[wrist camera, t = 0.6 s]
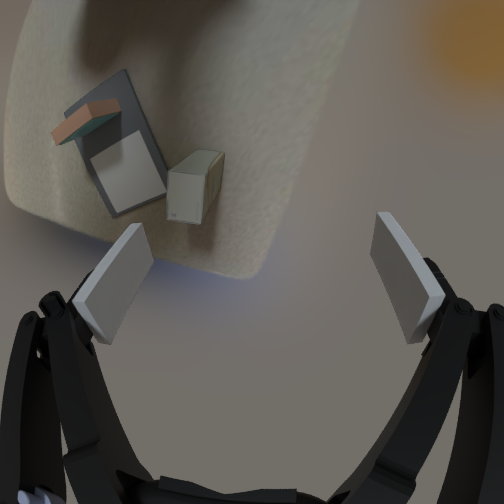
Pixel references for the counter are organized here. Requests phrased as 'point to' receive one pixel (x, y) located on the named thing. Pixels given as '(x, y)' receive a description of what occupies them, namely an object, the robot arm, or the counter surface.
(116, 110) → the tile
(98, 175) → the mat
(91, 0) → the counter surface
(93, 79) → the counter surface
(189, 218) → the skincare box
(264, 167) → the counter surface
